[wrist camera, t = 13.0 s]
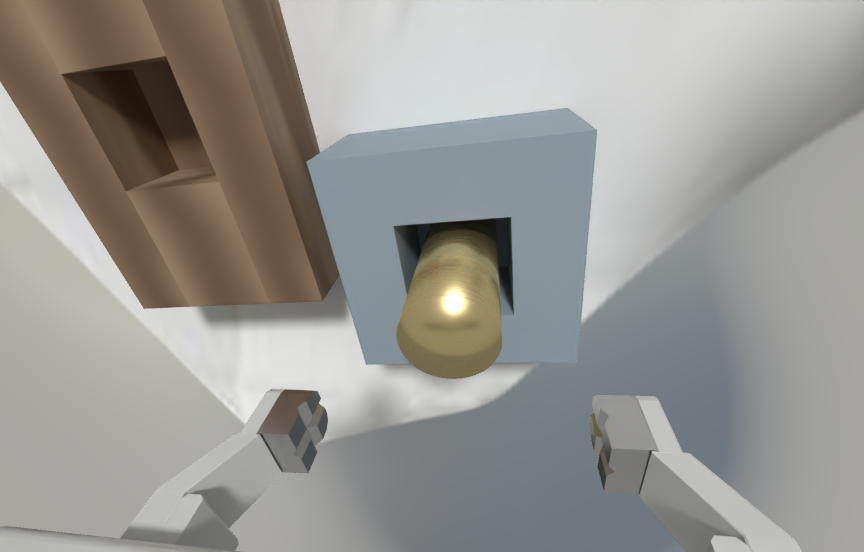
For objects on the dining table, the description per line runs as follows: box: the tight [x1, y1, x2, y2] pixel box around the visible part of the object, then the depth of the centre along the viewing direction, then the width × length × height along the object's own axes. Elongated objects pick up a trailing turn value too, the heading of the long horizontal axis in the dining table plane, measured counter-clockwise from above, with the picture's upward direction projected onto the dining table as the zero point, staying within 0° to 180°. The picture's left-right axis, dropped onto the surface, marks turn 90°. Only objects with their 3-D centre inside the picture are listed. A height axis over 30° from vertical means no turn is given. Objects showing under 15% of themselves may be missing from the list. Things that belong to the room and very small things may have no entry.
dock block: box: [307, 108, 597, 364], centre depth 21 cm, size 12×12×6 cm
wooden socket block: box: [0, 0, 339, 309], centre depth 20 cm, size 12×20×5 cm, turn 8°
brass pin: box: [396, 218, 502, 379], centre depth 18 cm, size 4×4×10 cm
